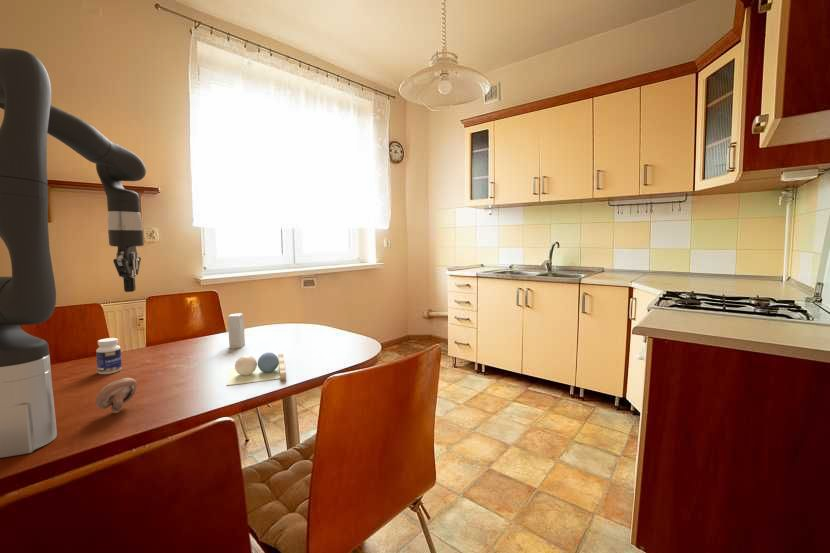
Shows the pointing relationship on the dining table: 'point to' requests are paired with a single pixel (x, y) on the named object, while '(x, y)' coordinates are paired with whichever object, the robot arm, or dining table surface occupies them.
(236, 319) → the skincare box
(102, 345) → the pill bottle
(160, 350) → the dining table surface
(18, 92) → the robot arm
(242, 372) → the cue ball
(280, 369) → the stopper strip
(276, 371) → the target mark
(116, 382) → the mushroom
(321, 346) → the dining table surface
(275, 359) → the blue ball
